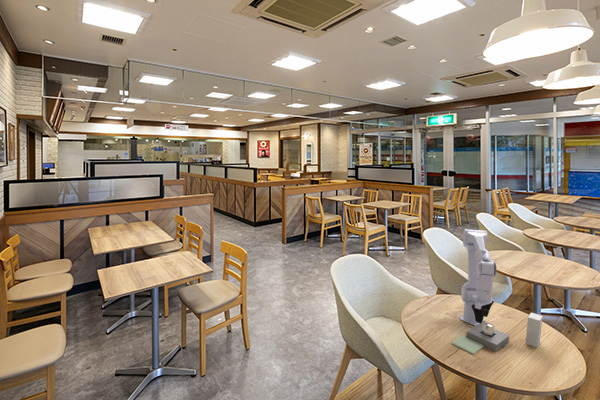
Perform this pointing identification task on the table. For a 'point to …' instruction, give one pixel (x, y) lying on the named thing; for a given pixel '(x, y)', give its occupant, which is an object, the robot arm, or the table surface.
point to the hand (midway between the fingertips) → (481, 319)
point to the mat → (467, 344)
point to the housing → (488, 338)
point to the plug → (488, 329)
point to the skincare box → (533, 329)
